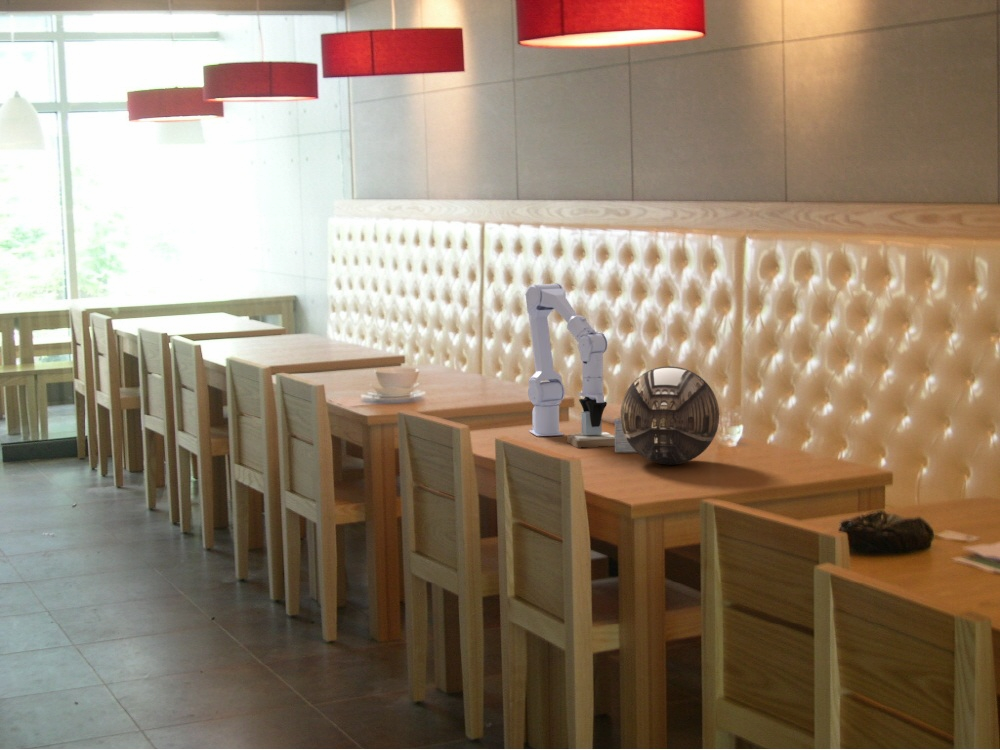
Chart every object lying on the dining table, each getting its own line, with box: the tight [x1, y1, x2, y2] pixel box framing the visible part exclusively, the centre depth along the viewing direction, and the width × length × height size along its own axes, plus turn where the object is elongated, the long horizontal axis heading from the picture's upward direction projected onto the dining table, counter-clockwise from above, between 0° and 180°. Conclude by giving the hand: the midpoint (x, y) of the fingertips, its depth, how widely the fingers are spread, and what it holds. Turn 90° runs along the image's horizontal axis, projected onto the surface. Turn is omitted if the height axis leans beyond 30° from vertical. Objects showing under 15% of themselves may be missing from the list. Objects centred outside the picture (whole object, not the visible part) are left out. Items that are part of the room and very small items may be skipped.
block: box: [580, 411, 603, 435], centre depth 361 cm, size 4×4×6 cm
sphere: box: [620, 365, 720, 466], centre depth 330 cm, size 25×25×25 cm
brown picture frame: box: [567, 431, 615, 449], centre depth 362 cm, size 10×12×2 cm
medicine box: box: [614, 418, 637, 453], centre depth 350 cm, size 8×4×9 cm, turn 84°
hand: (592, 425), depth 362 cm, fingers closed on block, 4 cm apart
